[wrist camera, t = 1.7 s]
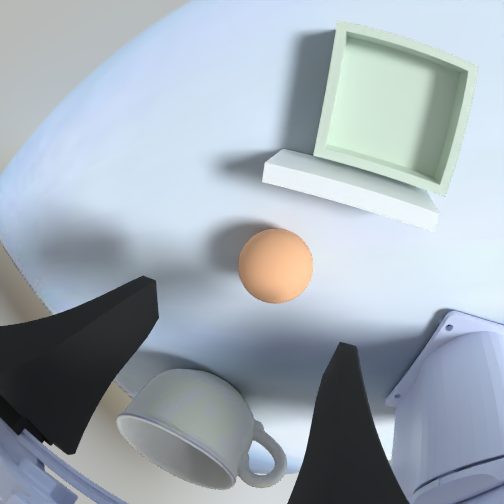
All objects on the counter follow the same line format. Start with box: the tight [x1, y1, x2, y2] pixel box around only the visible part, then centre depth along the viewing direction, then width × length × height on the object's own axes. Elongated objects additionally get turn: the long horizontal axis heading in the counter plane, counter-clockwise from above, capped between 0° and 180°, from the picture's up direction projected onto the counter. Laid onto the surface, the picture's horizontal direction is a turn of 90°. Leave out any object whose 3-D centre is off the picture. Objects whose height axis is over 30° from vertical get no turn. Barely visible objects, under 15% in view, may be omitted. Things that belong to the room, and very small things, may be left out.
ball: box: [238, 228, 313, 304], centre depth 15 cm, size 4×4×4 cm
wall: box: [262, 149, 441, 232], centre depth 12 cm, size 1×7×3 cm, turn 83°
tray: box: [313, 20, 478, 197], centre depth 11 cm, size 6×6×2 cm
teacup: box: [116, 369, 287, 490], centre depth 23 cm, size 14×11×8 cm
